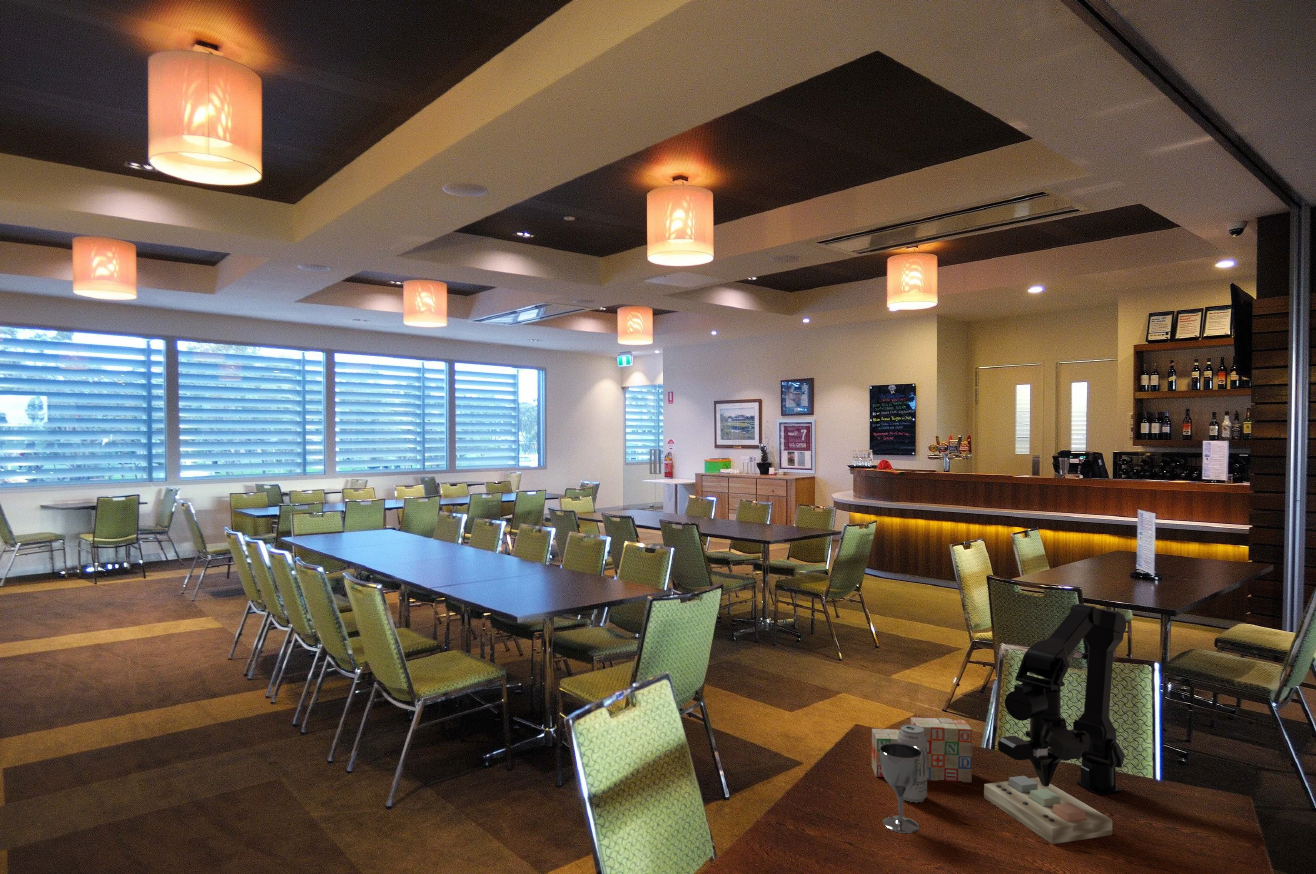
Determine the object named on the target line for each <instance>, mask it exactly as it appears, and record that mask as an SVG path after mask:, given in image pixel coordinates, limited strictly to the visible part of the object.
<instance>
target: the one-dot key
mask: <svg viewBox="0 0 1316 874" xmlns="http://www.w3.org/2000/svg"><path fill="white" fill-rule="evenodd" d="M1030 799H1031V800H1033V801H1034V802H1036V803H1038V804H1039V805H1041V806H1042V807H1050V806H1053V805H1054V804H1060V796H1058V795H1056V794H1055V793H1053V792H1051V791H1050V790H1048V789H1039V790H1031V791H1030Z"/></svg>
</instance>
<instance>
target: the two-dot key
mask: <svg viewBox="0 0 1316 874" xmlns="http://www.w3.org/2000/svg"><path fill="white" fill-rule="evenodd" d="M1053 813H1054V814H1055V815H1057V816H1058V817H1060V818H1062V819H1063V820H1065V821H1066V822H1075V821H1082V820H1085V811H1084V810H1082V809H1080V808H1078V807H1077V806H1075V805H1073V804H1072V803H1070V802H1069V803H1062V804H1054V805H1053Z"/></svg>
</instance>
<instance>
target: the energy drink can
mask: <svg viewBox="0 0 1316 874" xmlns="http://www.w3.org/2000/svg"><path fill="white" fill-rule="evenodd" d="M899 730H900V731H899V733H898V743H905V744H909V745H912V746H915V747H917V748H918V749H919V750H920V751H921V769H920V774H919V778H918V780H917V782H916V783H915V785H914V786H913V787H912V788H910V789H909V790H908V791H907V793H906V794H905V797H904V801H905V800H906V801H905V802H907V801H910V802H909V803H911V802H915V803H914V804H918V802H920V803H923V802H924V801H925V799H926V798H927V797H928V780H927V737H926V735H925V733H924V729H923V728H922V727H920V726H917V725H911V723H910V724H902V725H901V726H900V729H899Z"/></svg>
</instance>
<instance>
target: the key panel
mask: <svg viewBox="0 0 1316 874" xmlns="http://www.w3.org/2000/svg"><path fill="white" fill-rule="evenodd" d="M1028 778H1029V777H1028ZM1029 779H1031V780H1033V781H1034V782H1036V783H1038V790H1039V789H1048V790H1050V791H1051V792H1053V793H1055V794H1056V795H1058V796H1060V804H1062V803H1069V802H1070V803H1072V804H1073V805H1075V806H1077V807H1078V808H1080V809H1082V810H1084V811H1085V820H1082V821H1075V822H1066V821H1065V820H1063V819H1062V818H1060V817H1058V816H1057V815H1055V814H1054V813H1053V806H1050V807H1042V806H1041V805H1039V804H1038V803H1036V802H1034V801H1033V800H1031V799H1030V792H1028V793H1020V792H1018V791H1017V790H1015V789H1014V788H1012V787H1010V786H1009V780H1006V781H999V782H990V783H984V785H983V788H984V789H983V796H984V797H983V798H984V799H985V800H986V801H988V802H989V801H990V802H989V803H991V804H992V805H994V806H995V805H996V806H995V807H997V808H998V807H999V810H1001V811H1003V812H1005V814H1007V815H1009V816H1010V817H1012V818H1013V819H1014V820H1017V821H1018V822H1019V823H1021V824H1022V825H1024V827H1026V828H1028V829H1029V830H1030V831H1033V832H1034V833H1035V834H1037V835H1038V836H1039V837H1041V838H1043V839H1044V840H1046V841H1047V842H1049V843H1050V844H1051V845H1054V844H1055V845H1056V844H1062V843H1067V842H1074V841H1081V840H1088V839H1094V838H1101V837H1109V836H1113V819H1112V818H1111V817H1109V816H1107V815H1105V814H1103V813H1101V812H1100V811H1099V810H1096V809H1094V808H1093V807H1091V806H1089V805H1087V804H1086V803H1084V802H1083V801H1081V800H1079V799H1077V798H1076V797H1074V796H1072V795H1071V794H1069V793H1067V792H1065V791H1063V790H1062V789H1060V788H1059V787H1057V786H1055V785H1053V784H1051V783H1050V784H1049V786H1048V787H1045V786H1043V785H1042V784H1041V782H1040V780H1039V777H1038V776H1037V777H1030V778H1029Z"/></svg>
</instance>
